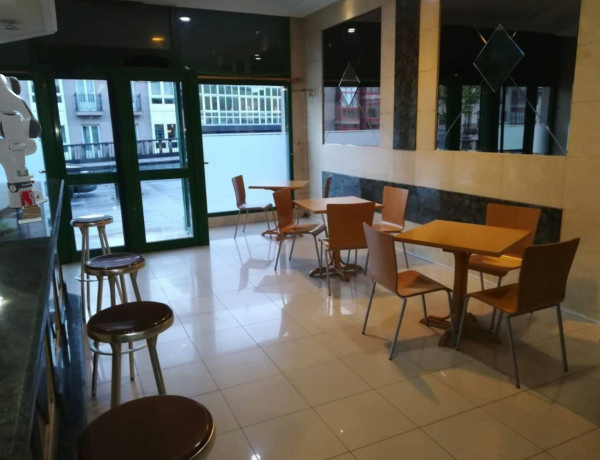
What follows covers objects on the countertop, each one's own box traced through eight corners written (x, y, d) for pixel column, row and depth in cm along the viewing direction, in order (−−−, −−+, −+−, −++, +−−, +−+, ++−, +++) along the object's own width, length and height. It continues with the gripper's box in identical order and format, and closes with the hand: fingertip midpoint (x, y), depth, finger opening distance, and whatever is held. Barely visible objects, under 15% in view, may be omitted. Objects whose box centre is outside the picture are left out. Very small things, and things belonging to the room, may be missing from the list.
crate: (23, 216, 246) (21, 206, 245) (40, 213, 250) (39, 204, 249) (24, 218, 240) (22, 209, 238) (41, 216, 243) (40, 206, 242)
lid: (14, 180, 235) (12, 170, 234) (33, 178, 239) (31, 168, 238) (14, 181, 228) (12, 171, 227) (34, 179, 232) (32, 169, 231)
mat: (18, 220, 236) (18, 220, 236) (41, 217, 241) (40, 216, 241) (18, 224, 227) (18, 223, 227) (42, 221, 232) (42, 220, 232)
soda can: (30, 212, 253) (26, 190, 250) (19, 212, 255) (15, 191, 252) (40, 210, 260) (36, 188, 257) (29, 210, 262) (25, 188, 258)
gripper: (9, 146, 237) (15, 173, 240) (9, 147, 219) (15, 176, 223) (23, 145, 240) (29, 172, 243) (25, 145, 223) (30, 175, 226)
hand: (22, 174), depth 233 cm, fingers closed on lid, 2 cm apart
